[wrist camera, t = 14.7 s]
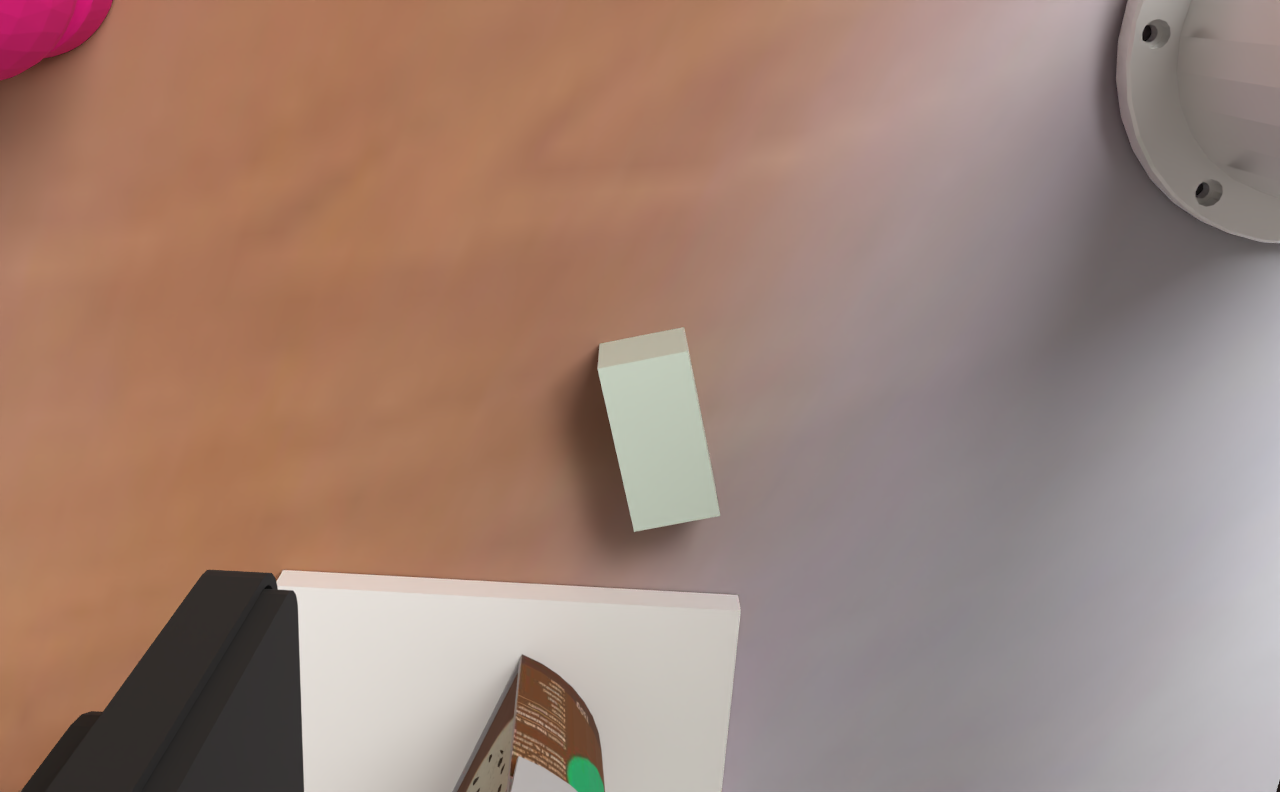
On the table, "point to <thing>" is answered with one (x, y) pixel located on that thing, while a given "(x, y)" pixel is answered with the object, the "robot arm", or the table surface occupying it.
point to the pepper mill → (44, 30)
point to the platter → (506, 676)
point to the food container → (536, 739)
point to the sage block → (658, 429)
